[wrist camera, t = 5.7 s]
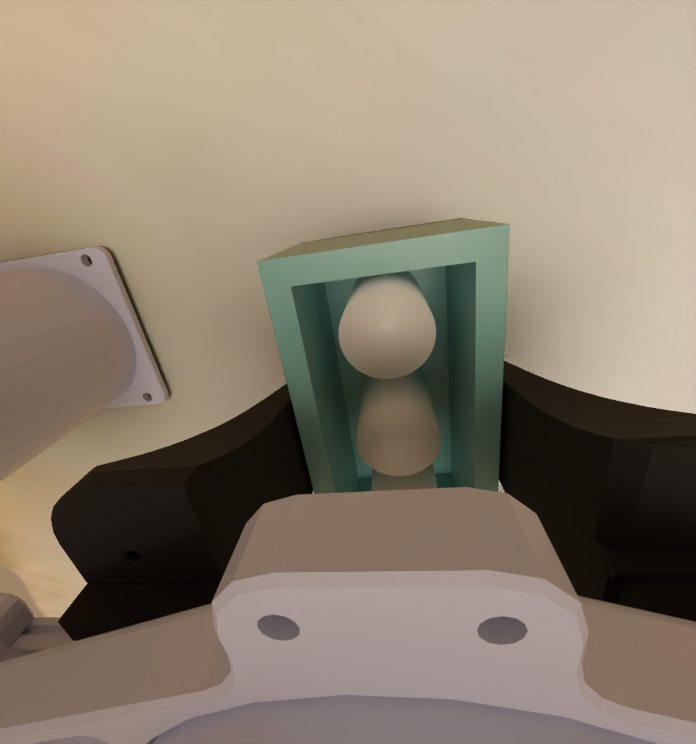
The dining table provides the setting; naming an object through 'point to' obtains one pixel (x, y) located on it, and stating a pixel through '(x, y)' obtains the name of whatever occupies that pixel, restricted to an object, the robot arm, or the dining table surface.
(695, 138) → the dining table surface
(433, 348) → the tray
